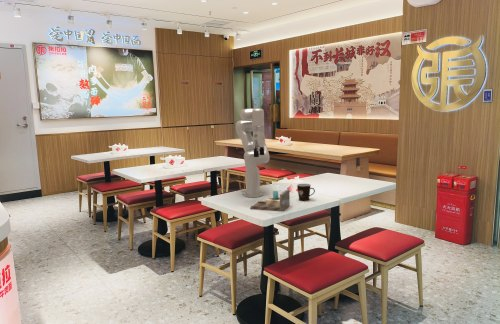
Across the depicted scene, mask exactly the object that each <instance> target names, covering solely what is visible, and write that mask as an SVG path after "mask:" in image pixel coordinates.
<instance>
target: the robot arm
mask: <svg viewBox="0 0 500 324" xmlns="http://www.w3.org/2000/svg"><path fill="white" fill-rule="evenodd" d="M264 111H265V110H264V109H263V108H259V107H258V108H253V107H252V108H242V109H240V114H239V115H240V120H238V121H237V122H236V123H235V130H236V134H237V135H238V136H237V137H239V139H240V141H241V145H242V148H243V150H244V154H243V160H244V166H245V186H246V187H245V189H244V188H242V189H240V190H241V193H244V197H246V198H259V197H263V192H261V178H260V176H261V174H260V173H261V172H260V168H259V167H258V166H257V165H259V164H261V165H262V164H267V163H269V162H270V158H271V157H270V153H269V150H268V147H267V144H266V138H265V136H266V135H265V112H264ZM249 132H252V134H251V133H249Z"/></svg>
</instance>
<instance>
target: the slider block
mask: <svg viewBox="0 0 500 324" xmlns="http://www.w3.org/2000/svg"><path fill="white" fill-rule="evenodd" d="M265 200H266V201H265V202H266V207H279V208H280V196H278V200H273V196H270V197H268V198H267V199H265Z"/></svg>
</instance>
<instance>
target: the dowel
mask: <svg viewBox="0 0 500 324" xmlns="http://www.w3.org/2000/svg"><path fill="white" fill-rule="evenodd" d="M272 197H273V200H278V197H279V191H278V190H273V191H272Z"/></svg>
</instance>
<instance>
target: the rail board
mask: <svg viewBox="0 0 500 324" xmlns="http://www.w3.org/2000/svg"><path fill="white" fill-rule="evenodd" d="M279 197H280V208H279V207H266V201H261V200H258V201H257V202H256V203H254V204H253V205H250V207H249V209H250V210H260V211H271V212H273V211H274V212H285V211H286V210H287V209H288V208H289V207H291V206H290V204H291V202H290V199H291V198H290V197H291V196H290V189H285V190H284V191H282V192H281V193H280V194H279Z"/></svg>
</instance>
